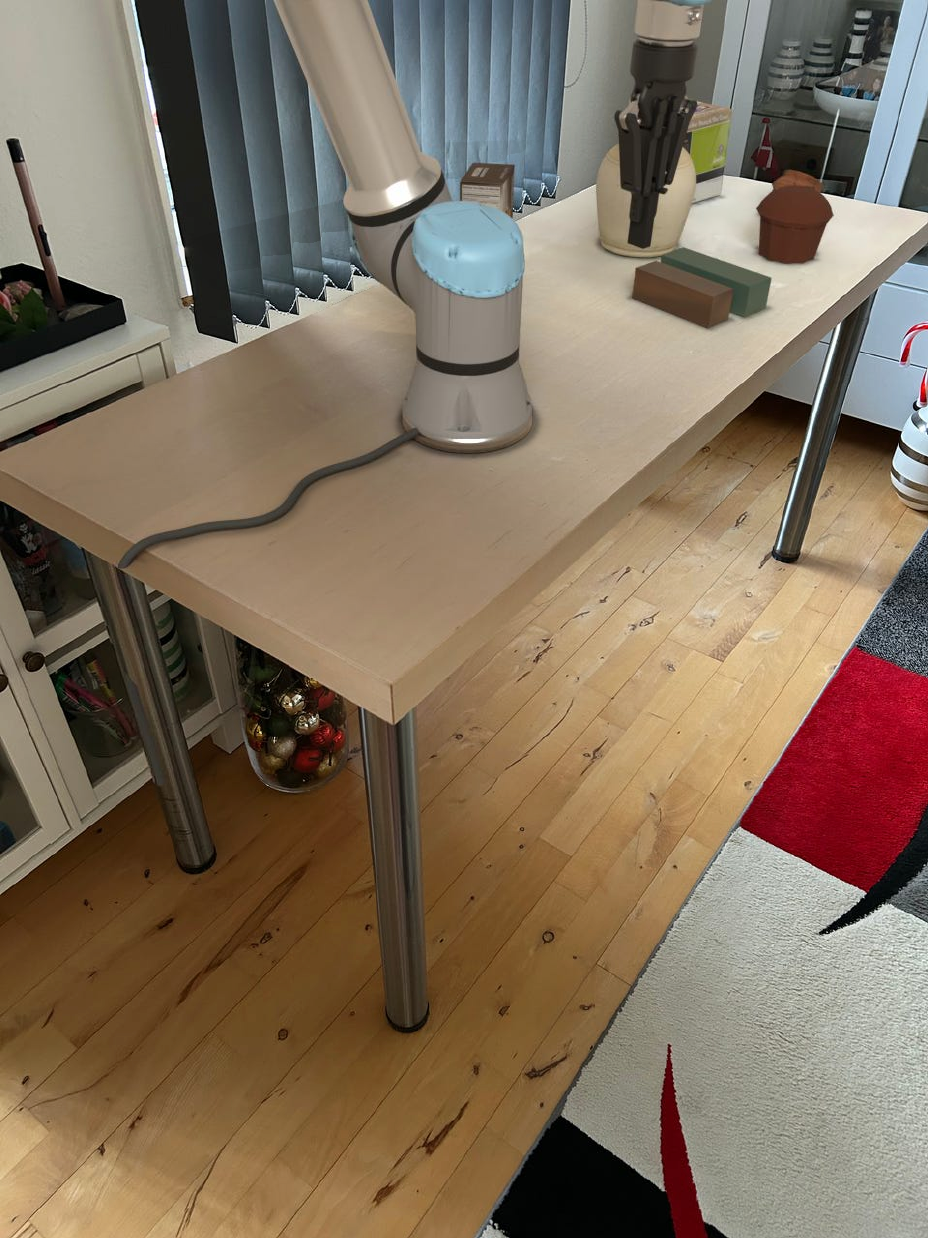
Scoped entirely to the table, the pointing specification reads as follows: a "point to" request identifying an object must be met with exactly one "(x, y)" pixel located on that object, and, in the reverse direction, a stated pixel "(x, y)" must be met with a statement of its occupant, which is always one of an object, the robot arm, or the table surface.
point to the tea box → (708, 148)
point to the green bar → (725, 278)
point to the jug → (617, 204)
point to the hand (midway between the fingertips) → (638, 244)
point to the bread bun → (797, 180)
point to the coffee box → (489, 186)
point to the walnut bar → (682, 294)
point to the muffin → (792, 223)
